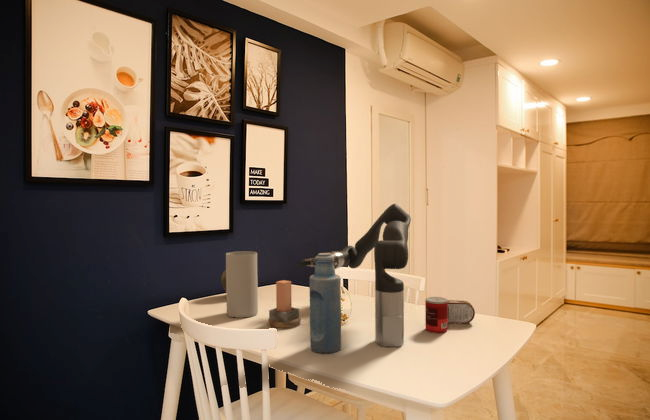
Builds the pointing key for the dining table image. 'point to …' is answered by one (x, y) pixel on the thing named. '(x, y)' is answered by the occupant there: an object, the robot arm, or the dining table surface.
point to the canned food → (436, 314)
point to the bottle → (325, 306)
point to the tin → (460, 312)
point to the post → (283, 296)
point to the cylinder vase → (241, 284)
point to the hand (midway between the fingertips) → (309, 265)
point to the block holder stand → (284, 318)
